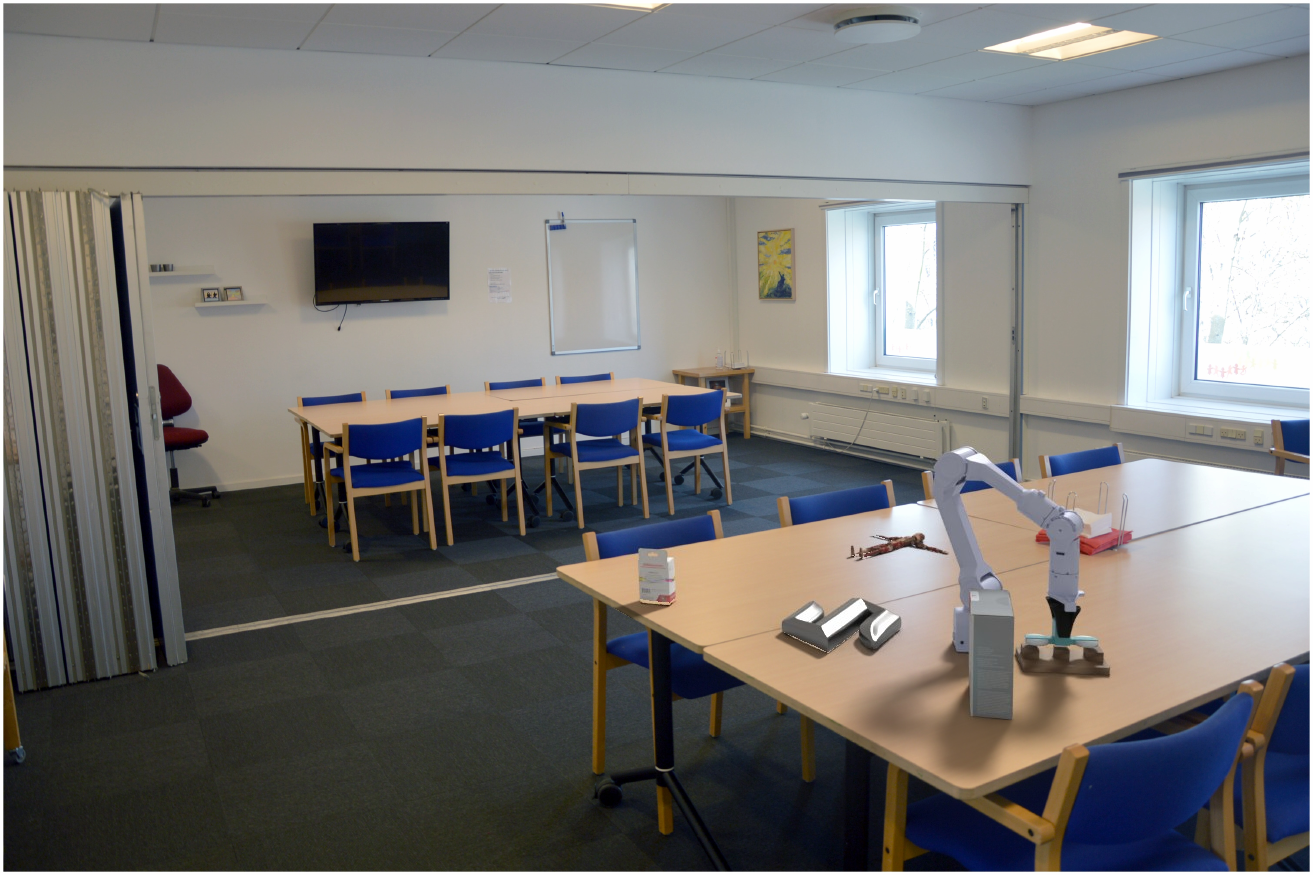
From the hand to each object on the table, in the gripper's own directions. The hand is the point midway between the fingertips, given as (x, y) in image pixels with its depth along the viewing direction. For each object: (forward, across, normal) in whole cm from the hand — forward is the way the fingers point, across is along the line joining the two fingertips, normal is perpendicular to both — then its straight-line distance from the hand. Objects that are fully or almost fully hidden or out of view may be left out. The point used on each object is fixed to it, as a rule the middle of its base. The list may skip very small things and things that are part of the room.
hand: (1061, 634), depth 199 cm
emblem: (+7, +15, +45) cm, 48 cm away
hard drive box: (+7, -21, +17) cm, 28 cm away
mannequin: (+7, +90, +31) cm, 95 cm away
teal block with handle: (+2, 0, 0) cm, 2 cm away
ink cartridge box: (+7, +32, +92) cm, 98 cm away
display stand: (+6, 0, 0) cm, 6 cm away
